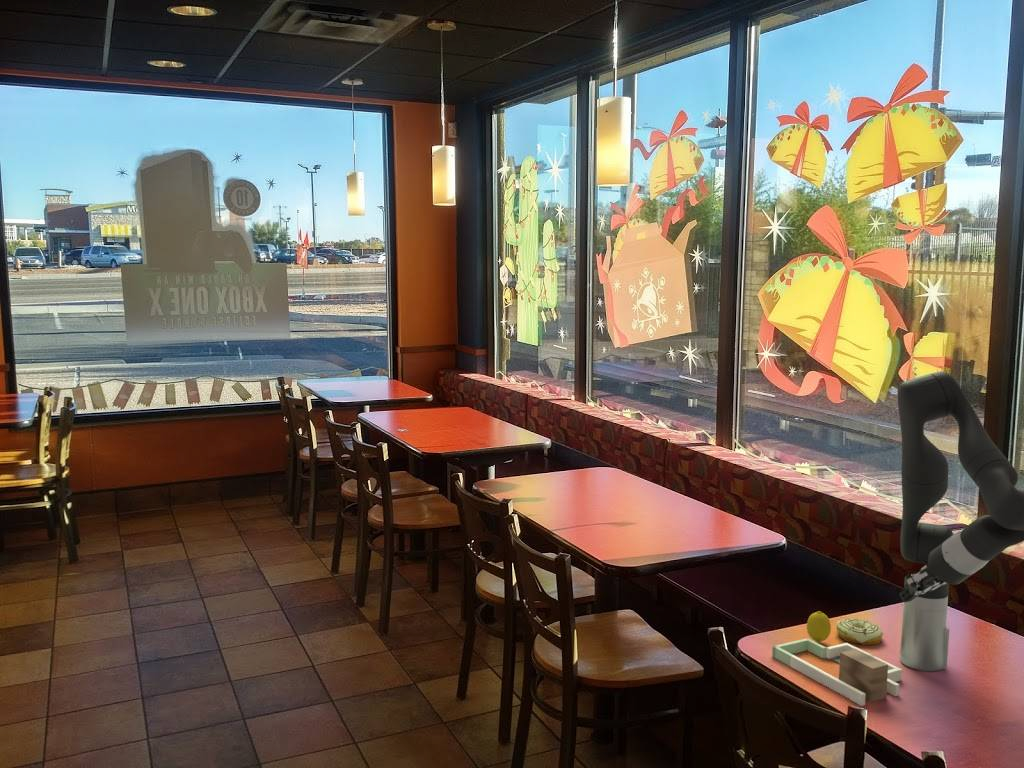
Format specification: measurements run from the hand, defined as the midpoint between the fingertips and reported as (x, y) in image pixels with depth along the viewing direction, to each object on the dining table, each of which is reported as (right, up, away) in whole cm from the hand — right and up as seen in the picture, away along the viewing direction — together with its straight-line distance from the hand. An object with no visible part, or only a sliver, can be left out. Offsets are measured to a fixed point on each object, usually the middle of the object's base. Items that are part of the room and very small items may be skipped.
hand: (903, 597), depth 183 cm
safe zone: (-12, -21, +28) cm, 37 cm away
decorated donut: (+7, -20, +41) cm, 46 cm away
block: (-4, -23, +12) cm, 27 cm away
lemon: (-5, -20, +38) cm, 43 cm away
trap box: (-3, -22, +19) cm, 29 cm away
